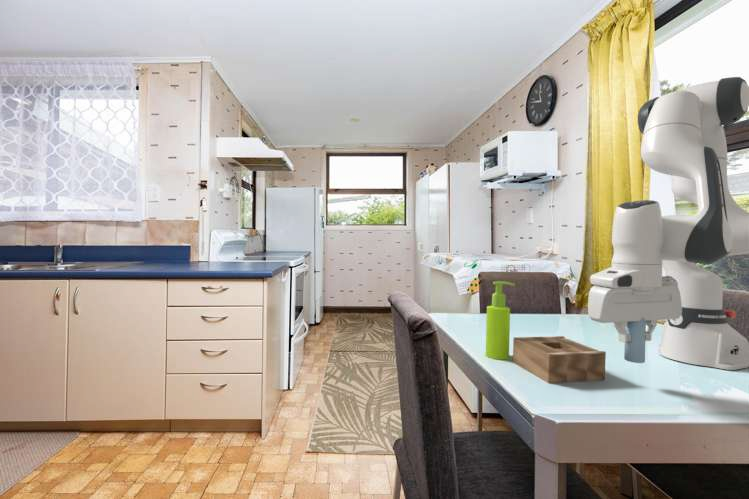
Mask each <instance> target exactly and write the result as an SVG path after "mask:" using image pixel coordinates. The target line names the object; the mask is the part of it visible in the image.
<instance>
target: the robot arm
mask: <svg viewBox="0 0 749 499" xmlns="http://www.w3.org/2000/svg"><path fill="white" fill-rule="evenodd" d="M748 109H749V85H748V82H747V81H746V79H744V78H742V77H741V76H731V77H724V78H721V79H719V80H716V81H715V80H714V81H708V82H705V83H704V82H703V83H700V84H695V85H692V86H691V85H690V86H688V87H685V88H682V89H679V90H677V91H671V92H669V93H666V94H664V95H662V96H661V97H659V96H657V97H654V98H652V99H649V100H647V101H645V102H644V104H643V105H642V106H641V107H640V108H639V109H638V113H637V126H638V129H639V132H640V133H641V134H642V137H641V142H640V143H641V144H640V158H641V160H642V162H643V163H644V164H645V165H646V166H647V167H648V168H650V169H652V170H654V171H655V172H657V173H660V174H663V175H668V176H671V191H672V194H673V195H674V196H675V198H678V199H680V200H683V201H685V202H688V203H692V204H695V205H696V206H697V212H695V213H694V214H674V215H662V211H661V206H660V203H659V202H658V201H656V200H651V199H649V200H646V199H644V200H643V199H642V200H633V201H626V202H623V203H620V204H619V205H617V206H616V207H615V211H614V214H613V219H612V220H613V222H612V230H611V245H612V247H613V248H612V249H613V255H612V258H611V264H610V265H611V267H608V268H606V269H604V270H600V271H598V272H595V273H593V274H591V275H590V277H589V283H590V284H591V285H593V286H592V287H590V290H589V292H588V298H587V299H588V301H587V315H588V317H589V318H590V319H591V321H594V322H596V323H600V324H609V323H610V324H611V323H612V324H613V327H614V328H615V330H616V331H617V333H618V341H619V342H620V343H621V342H622V343H625V342H631V334H628V333H627V331H626V328H625V327H627V322H632V321H640V320H641V319H642V318H644V319H645V321H646V336H645V342H651V341H652V334H653V332H654V330H655V329H656V328H657V326H658V321H664V320H666V321H665V322H664V323H663V330H662V335H661V342H660V344H659V345H658V346H657V347H658V348H657V349H658V351H659V352H658V354H659V355H661V356H662V357H664V358H667V359H670V360H674V361H677V362H682V363H685V364H690V365H695V366H701V367H702V366H704V367H710V368H711V367H712V368H717V369H722V370H727V371H735V370H740V369H747V368H749V340H748V339H747V338H746V337H745V336H743V335H742V334H741V333H740V332H738V331H737V330H736V329H735V328H733V327H732V326H731V325H730V324H729V321H728V318H730V319H735V318H736V317H737V312H736V311H735V310H728V309H724V308H723V297H724V296H723V295H724V282H723V279H722V278H721V277H720V276H719V275H718V274H717V273H715V272H713V271H711V270H709V269H706V268H705V267H702V266H699V265H698V264H701V265H702V264H703V265H711V264H714V263H716V262H718V261H720V260H721V259H723V258H725V257H730V256H737V255H738V256H741V255H748V254H749V211H747V210H746V209H744V208H742V207H741V206H740V205H739V204H738V203H737V202H736V201H735V199H734V198H733V196H732V194H731V192H730V189H729V182H728V147H727V146H728V145H727V137H726V134H725V130H726V131H728V130H730V129H732V127H733V124H735V123H737V122H739V121H740V120H741V118H743V117H744V116H745V114H746V113H747V111H748ZM663 271H664V272H665V276H664V275H663Z"/></svg>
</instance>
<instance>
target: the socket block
mask: <svg viewBox="0 0 749 499" xmlns="http://www.w3.org/2000/svg"><path fill="white" fill-rule="evenodd" d="M512 340H513V346H512V348H513V349H512V363H513V364H515V365H517V366H519V367H520V368H522V369H524V370H526V371H528V372H529V373H530V374H533V375H534V376H536V377H537V378H539V379H541V380H543V381H544V382H546V383H547V384H555V383H571V382H575V383H576V382H592V381H593V382H594V381H605V380H606V359H607V358H606V354H607V353H606V351H605V350H598V349H596V348H593V347H590V346H587V345H584V344H582V343H579V342H576V341H574V340H571V339H569V338H566V337H565V336H563V335H560V336H554V335H553V336H521V337H520V336H519V337H513V339H512Z"/></svg>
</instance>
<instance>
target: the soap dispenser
mask: <svg viewBox="0 0 749 499" xmlns="http://www.w3.org/2000/svg"><path fill="white" fill-rule="evenodd" d="M492 284H493V285H495V292H493V293H492V295H491V305H487V306H486V324H485V325H486V326H485V327H486V328H485V329H486V330H485V331H486V332H485V357H487V358H490V359H493V360H502V361H504V360H508V359H509V358H510V333H511V332H510V331H511V328H510V325H511V321H510V320H511V307H508V306H506V294H505V293H504V292H503V285H507V286H515V285H516V283H514V282H510V281H504V280H503V281H502V280H501V281H493V282H492Z"/></svg>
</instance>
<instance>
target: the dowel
mask: <svg viewBox="0 0 749 499" xmlns="http://www.w3.org/2000/svg"><path fill="white" fill-rule="evenodd" d="M625 328H626V331H627V333H628V334H631V342H624V357H623V358H624V360H626V361H627V362H630V363H636V364H644V363H646V341H645V336H646V321H645V319H644V318H642V319H641V320H640V321H632V322H627V327H625Z"/></svg>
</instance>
